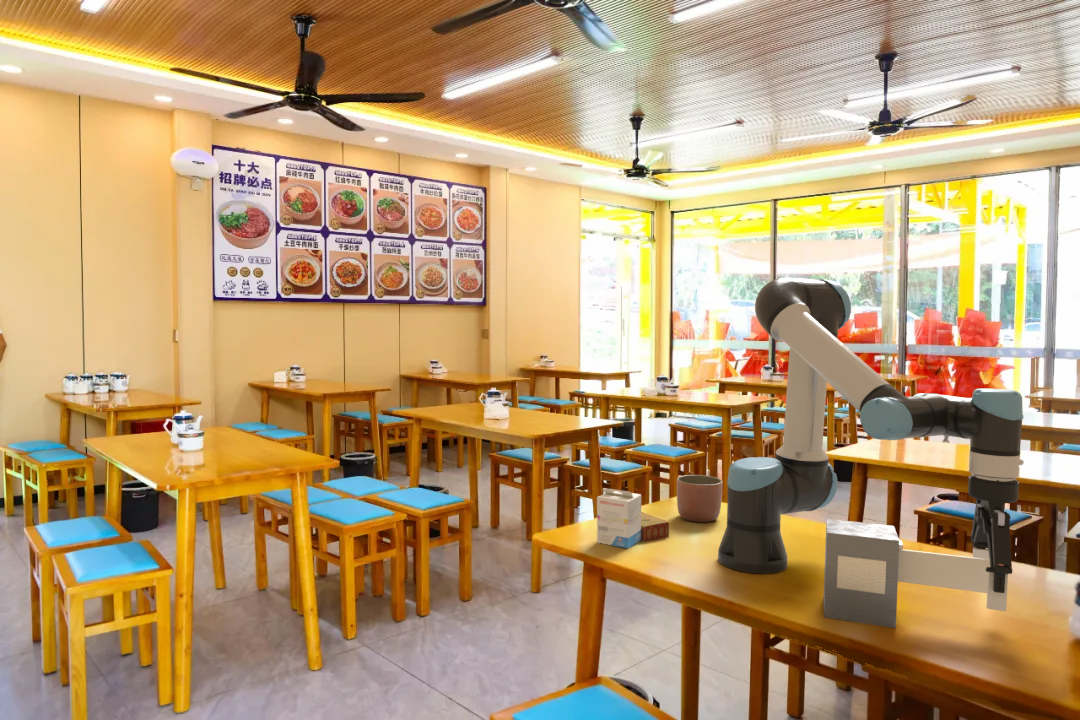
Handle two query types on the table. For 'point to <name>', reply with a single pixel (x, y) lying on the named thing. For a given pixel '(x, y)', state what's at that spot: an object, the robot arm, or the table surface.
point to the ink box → (618, 518)
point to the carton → (653, 527)
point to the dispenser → (861, 572)
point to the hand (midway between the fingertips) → (987, 595)
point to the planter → (699, 497)
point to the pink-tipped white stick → (943, 570)
